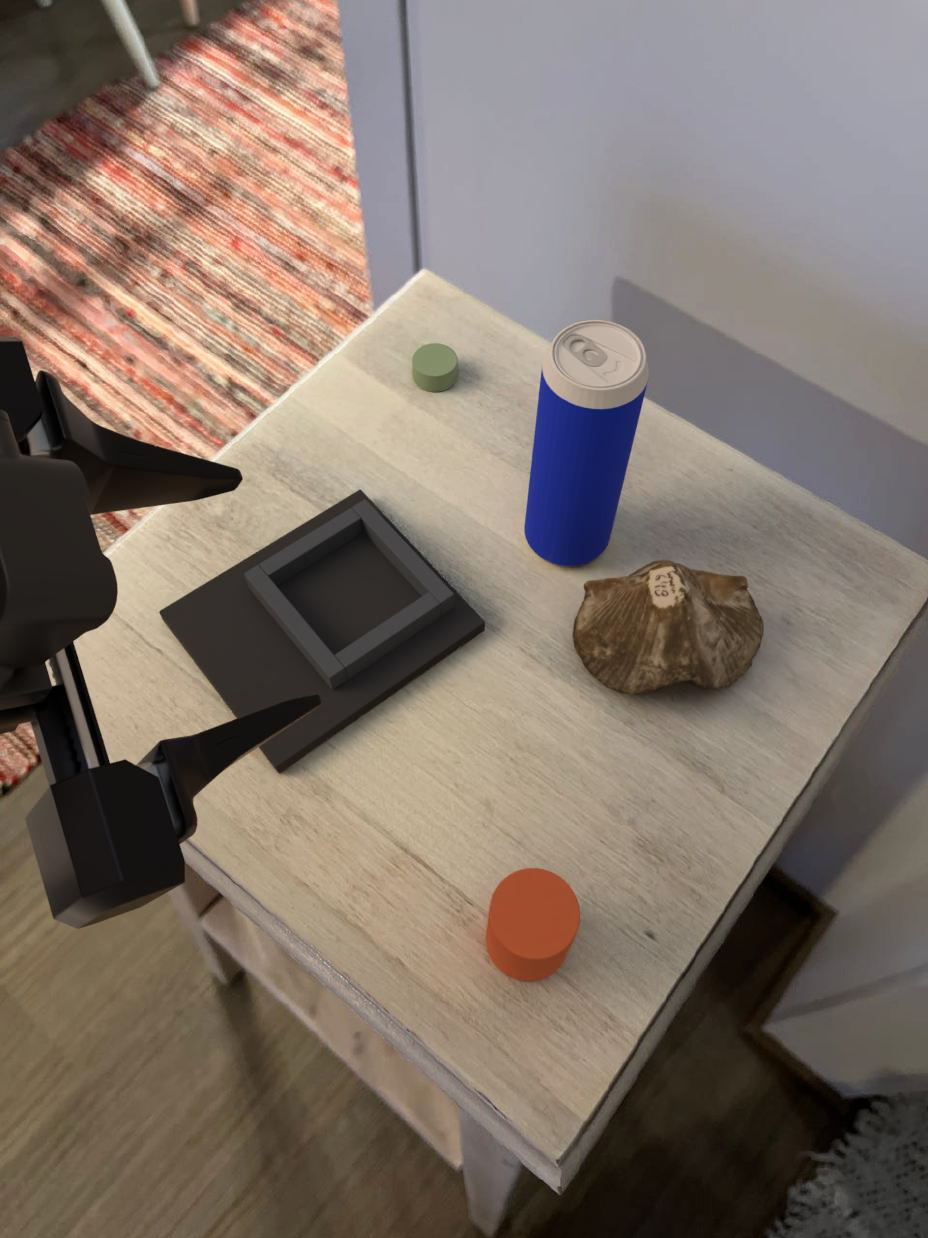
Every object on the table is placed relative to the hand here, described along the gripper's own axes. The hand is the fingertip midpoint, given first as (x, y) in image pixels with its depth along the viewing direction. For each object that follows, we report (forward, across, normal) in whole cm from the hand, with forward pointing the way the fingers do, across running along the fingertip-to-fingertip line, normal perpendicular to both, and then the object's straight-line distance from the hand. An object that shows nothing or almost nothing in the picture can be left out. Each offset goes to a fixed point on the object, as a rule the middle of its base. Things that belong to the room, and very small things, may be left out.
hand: (276, 588), depth 37 cm
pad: (+24, +18, +14) cm, 33 cm away
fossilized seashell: (+25, -5, +7) cm, 26 cm away
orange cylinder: (+11, -17, +9) cm, 22 cm away
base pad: (+11, +3, +16) cm, 19 cm away
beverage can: (+25, +3, +10) cm, 27 cm away
